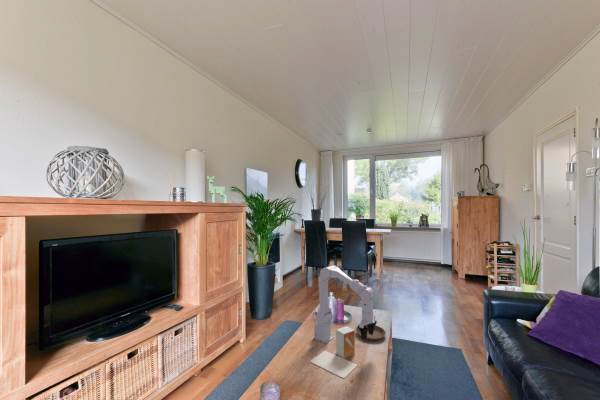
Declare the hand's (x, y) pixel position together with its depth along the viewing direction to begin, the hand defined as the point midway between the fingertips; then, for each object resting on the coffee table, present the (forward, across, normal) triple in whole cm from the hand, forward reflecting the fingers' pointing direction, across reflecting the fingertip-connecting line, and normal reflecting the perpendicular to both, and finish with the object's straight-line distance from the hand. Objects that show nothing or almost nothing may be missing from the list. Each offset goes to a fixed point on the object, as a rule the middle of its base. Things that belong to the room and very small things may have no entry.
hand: (367, 336), depth 141 cm
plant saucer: (+11, +22, +9) cm, 26 cm away
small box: (+10, -6, +10) cm, 16 cm away
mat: (+10, -18, +10) cm, 23 cm away
